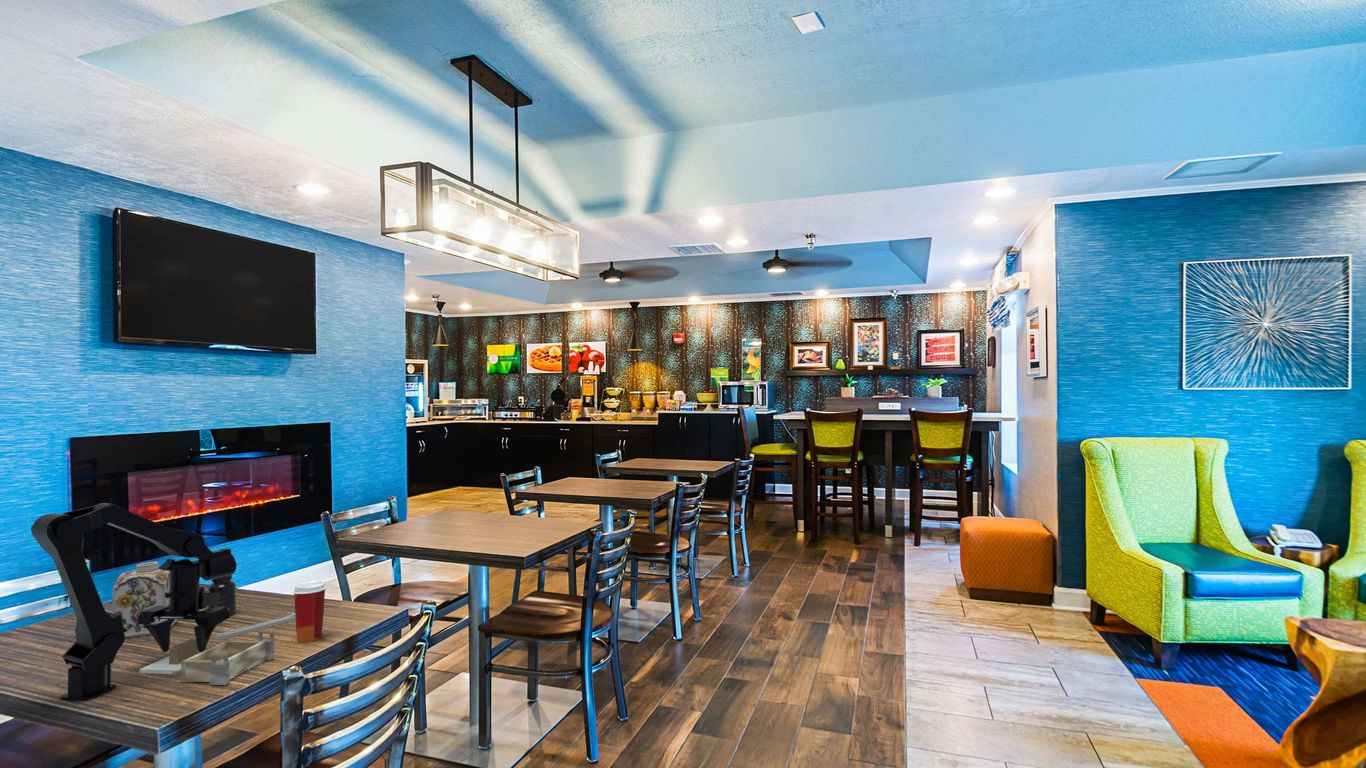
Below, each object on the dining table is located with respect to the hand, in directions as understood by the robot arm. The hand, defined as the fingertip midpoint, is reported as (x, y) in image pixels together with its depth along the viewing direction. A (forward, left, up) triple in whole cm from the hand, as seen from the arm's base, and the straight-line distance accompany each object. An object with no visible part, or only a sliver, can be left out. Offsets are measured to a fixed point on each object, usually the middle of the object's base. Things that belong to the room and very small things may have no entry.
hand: (183, 652), depth 157 cm
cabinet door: (0, 0, -3) cm, 3 cm away
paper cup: (+17, -20, -3) cm, 26 cm away
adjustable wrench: (+26, -2, -3) cm, 27 cm away
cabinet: (-4, -14, -2) cm, 14 cm away
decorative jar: (+21, +29, -3) cm, 36 cm away
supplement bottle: (+34, +18, -3) cm, 39 cm away
